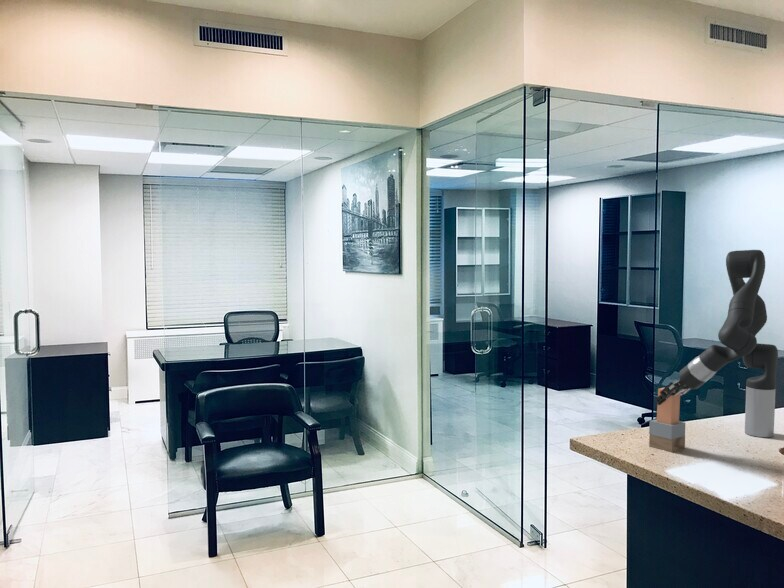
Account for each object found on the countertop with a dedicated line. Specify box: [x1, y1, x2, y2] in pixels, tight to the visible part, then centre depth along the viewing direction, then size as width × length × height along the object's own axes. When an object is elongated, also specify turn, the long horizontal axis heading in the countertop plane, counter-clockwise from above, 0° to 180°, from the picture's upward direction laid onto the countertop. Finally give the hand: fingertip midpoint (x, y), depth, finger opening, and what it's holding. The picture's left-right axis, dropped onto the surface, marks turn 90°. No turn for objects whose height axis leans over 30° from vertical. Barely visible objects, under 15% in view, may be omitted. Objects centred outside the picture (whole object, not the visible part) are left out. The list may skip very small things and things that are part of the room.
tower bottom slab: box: [648, 434, 686, 453], centre depth 210 cm, size 8×8×4 cm
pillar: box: [656, 386, 681, 425], centre depth 209 cm, size 5×5×11 cm
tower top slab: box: [648, 418, 686, 440], centre depth 210 cm, size 8×8×4 cm
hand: (662, 401), depth 211 cm, fingers open, 6 cm apart
